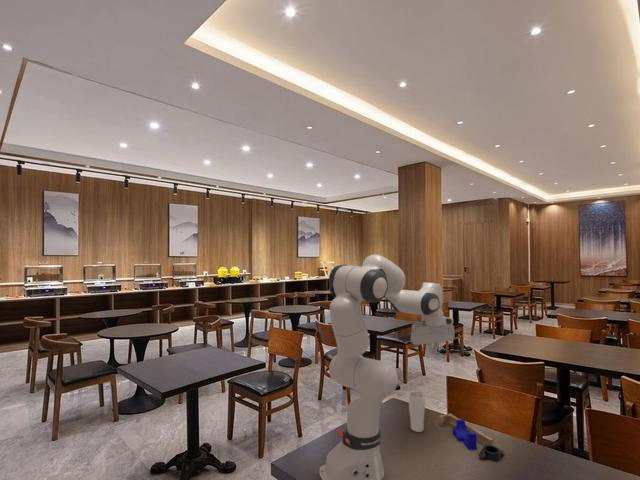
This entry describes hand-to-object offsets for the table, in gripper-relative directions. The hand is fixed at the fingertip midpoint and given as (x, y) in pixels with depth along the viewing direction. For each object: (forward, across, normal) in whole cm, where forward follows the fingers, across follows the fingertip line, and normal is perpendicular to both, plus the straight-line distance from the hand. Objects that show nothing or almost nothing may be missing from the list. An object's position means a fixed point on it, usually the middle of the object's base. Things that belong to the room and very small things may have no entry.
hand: (433, 353), depth 150 cm
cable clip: (+34, +6, -10) cm, 36 cm away
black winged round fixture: (+34, +8, -22) cm, 41 cm away
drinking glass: (+33, -5, +5) cm, 34 cm away
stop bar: (+33, +9, -7) cm, 35 cm away
